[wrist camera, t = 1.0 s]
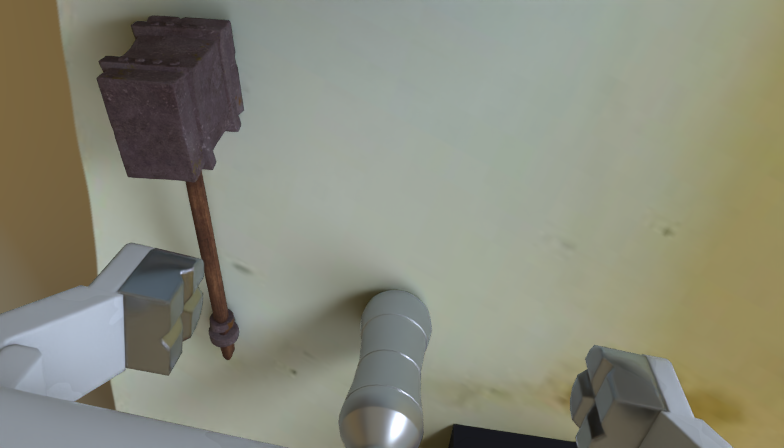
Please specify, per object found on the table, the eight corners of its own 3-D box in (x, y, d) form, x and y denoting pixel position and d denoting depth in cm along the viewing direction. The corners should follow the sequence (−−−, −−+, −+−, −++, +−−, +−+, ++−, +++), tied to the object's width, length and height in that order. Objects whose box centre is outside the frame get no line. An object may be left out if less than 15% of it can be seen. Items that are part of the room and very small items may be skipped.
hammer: (233, 13, 46) (185, 78, 38) (277, 309, 67) (251, 387, 60) (144, 7, 46) (79, 70, 39) (216, 303, 68) (183, 380, 60)
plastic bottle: (395, 346, 62) (370, 530, 45) (350, 301, 60) (305, 477, 42) (446, 315, 59) (441, 498, 42) (401, 268, 57) (376, 439, 40)
